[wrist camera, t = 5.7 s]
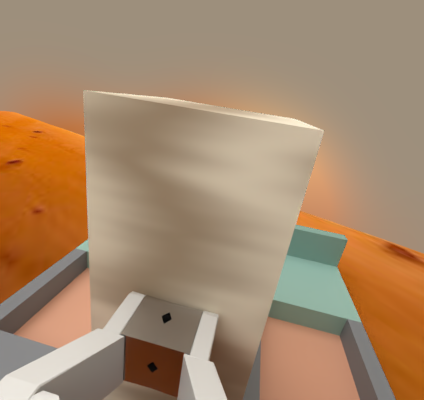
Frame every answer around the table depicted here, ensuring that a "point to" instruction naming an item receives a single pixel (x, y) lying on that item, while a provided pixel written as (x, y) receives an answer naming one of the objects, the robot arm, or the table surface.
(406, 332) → the table surface
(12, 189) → the table surface
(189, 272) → the maple block
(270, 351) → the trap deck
